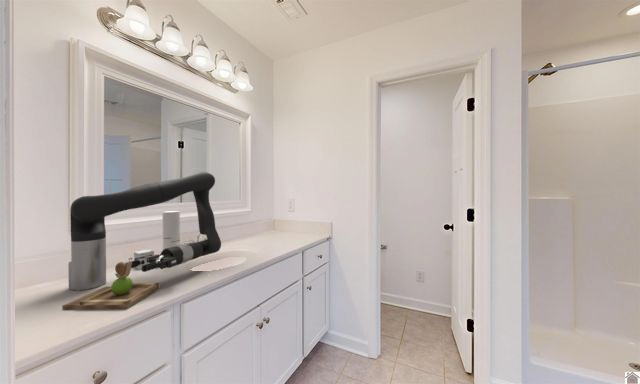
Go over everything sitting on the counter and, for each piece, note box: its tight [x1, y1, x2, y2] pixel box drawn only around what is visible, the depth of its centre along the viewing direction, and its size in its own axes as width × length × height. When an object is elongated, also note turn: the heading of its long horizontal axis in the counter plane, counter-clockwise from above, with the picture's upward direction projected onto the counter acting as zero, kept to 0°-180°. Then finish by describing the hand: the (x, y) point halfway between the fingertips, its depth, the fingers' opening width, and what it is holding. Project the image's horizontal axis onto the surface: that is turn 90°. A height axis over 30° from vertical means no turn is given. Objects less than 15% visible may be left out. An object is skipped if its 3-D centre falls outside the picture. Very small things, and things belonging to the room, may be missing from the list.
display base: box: [62, 282, 160, 310], centre depth 77 cm, size 19×14×2 cm
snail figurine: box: [111, 257, 134, 295], centre depth 77 cm, size 5×6×12 cm
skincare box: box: [133, 248, 155, 270], centre depth 109 cm, size 6×6×7 cm
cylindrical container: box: [162, 210, 181, 251], centre depth 116 cm, size 7×7×25 cm
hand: (134, 267), depth 80 cm, fingers open, 8 cm apart
